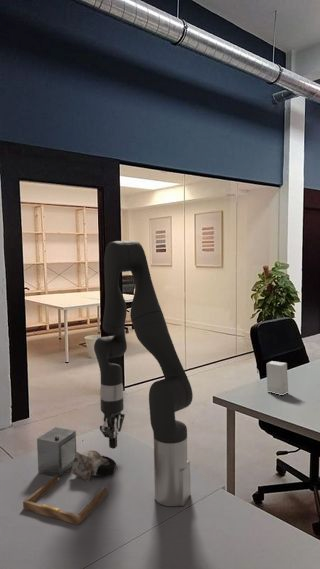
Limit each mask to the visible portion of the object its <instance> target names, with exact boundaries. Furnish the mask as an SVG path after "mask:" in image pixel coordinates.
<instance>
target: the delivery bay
mask: <svg viewBox="0 0 320 569" xmlns="http://www.w3.org/2000/svg"><path fill="white" fill-rule="evenodd" d="M58 483H59V478H58V476H54V477H52V478H50V479H49V480H48V481H47V482H46V483H44V484H43V485H42V486H41V487H39V488H38V489H37V490H36V491H35V492H33V493H32V494H31V495H30V496H29V495H28V497H27V498H26V499H24V500H23V501H22V508H23V510H26V511H29V512H33V513H36V514H40V515H43V516H46V517H51V518H53V519H57V520H60V521H64V522H66V523H67V522H68V523H70V524H74V525H77V526H80V525H81V523H82V522H83V521H84V520H85V519H86V518H87V517H88V516H89V515H90V514H91V512H93V510H95V509H96V507H97V506H99V504H100V503H101V502H103V501H102V500H104V499H105V498H106V496H107V495H108V487H107V486H104V487H103V488H102V489H101V490H100V491H99V492H98V493H97V494H96V495H95V496H94V497H93V498H92V499H91V501H89V502H88V503H87V505H86V506H85V507H83V509H82V510H81V511H80V512H79V513H78V514H77V513H74V512H69V511H66V510H62V509H60V507H55V506H52V505H50V504H42V503H37V501H38V500H39V499H41V497H43V496H44V495H46V493H47V492H49V490H51V489H52V488H54V486H56V485H57V484H58Z"/></svg>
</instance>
